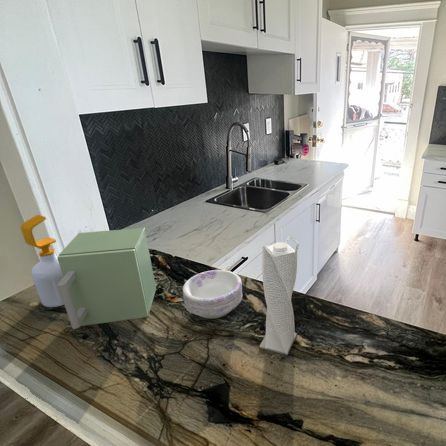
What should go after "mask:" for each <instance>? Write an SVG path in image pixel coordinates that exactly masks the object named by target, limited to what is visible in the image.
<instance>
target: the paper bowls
mask: <svg viewBox="0 0 446 446" xmlns="http://www.w3.org/2000/svg"><path fill="white" fill-rule="evenodd" d="M182 295H183V296H182V297H183V303H184V307H185V309H186V311H188V312H189V313H191V314H192V315H196V316H199V317H201V318H204V319H210V320H211V319H212V320H213V319H219V318H222V317H224V316H226V315H228V314H230V312H231V311H232V310H234V309H235V308H237V307H238V306H239V305H240V303H241V302H242V301H243V283H242V279H241V277H240V276H239V274H237V273H235V272H233V271H230V270H226V269H212V270H207V271H206V270H205V271H203V272H200V273H197V274H194V275H193V276H191V277H190V278H189V279H188V280H186V282H185V283H184V284H183V286H182Z"/></svg>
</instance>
